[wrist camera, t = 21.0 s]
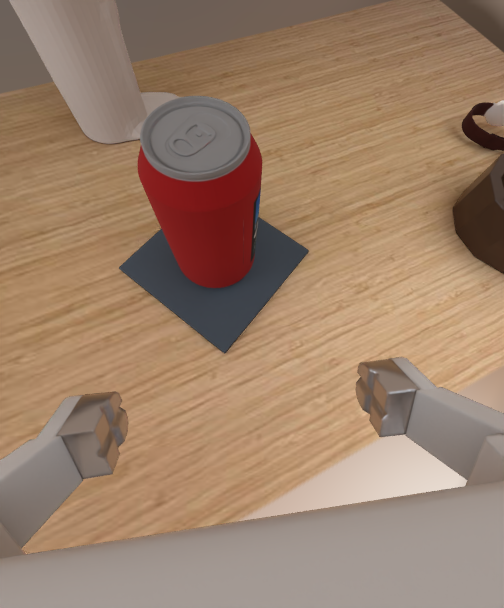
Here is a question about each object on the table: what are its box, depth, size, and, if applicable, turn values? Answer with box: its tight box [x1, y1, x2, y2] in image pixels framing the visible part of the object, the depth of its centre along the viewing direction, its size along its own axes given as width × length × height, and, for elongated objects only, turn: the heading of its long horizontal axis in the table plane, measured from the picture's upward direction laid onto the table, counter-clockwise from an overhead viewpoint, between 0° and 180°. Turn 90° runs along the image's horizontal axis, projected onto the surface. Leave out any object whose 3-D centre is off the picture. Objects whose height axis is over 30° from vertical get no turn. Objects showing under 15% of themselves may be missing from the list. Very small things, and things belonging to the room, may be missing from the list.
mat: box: [119, 217, 309, 353], centre depth 25 cm, size 12×12×1 cm
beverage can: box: [138, 96, 262, 288], centre depth 19 cm, size 7×7×12 cm
